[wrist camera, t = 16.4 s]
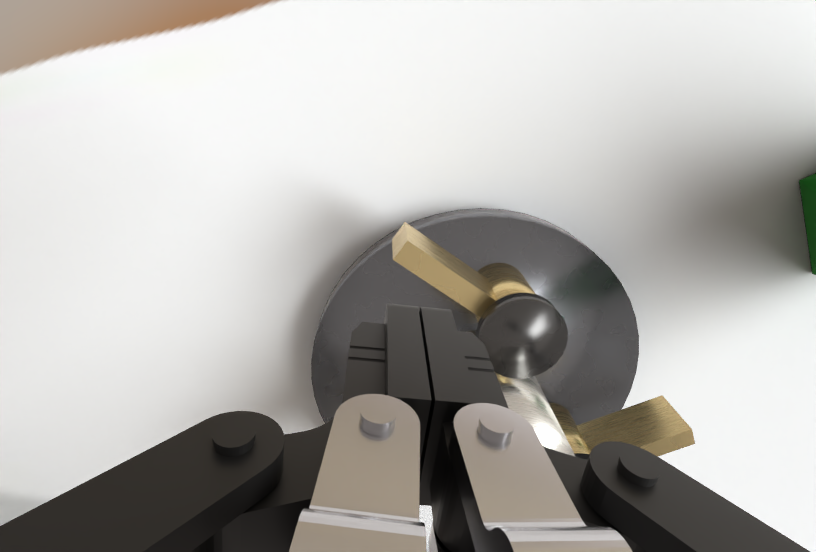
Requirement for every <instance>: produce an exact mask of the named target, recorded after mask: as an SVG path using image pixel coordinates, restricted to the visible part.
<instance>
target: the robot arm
mask: <svg viewBox="0 0 816 552" xmlns="http://www.w3.org/2000/svg"><path fill="white" fill-rule="evenodd" d="M419 505H430V506H432V514H433V522H432V527H431V531H430V536H429V551H430V552H810V551H808V550H807V549H805V548H803V547H802V546H800V545H799V544H797V543H795V542H794V541H792V540H790V539H789V538H787V537H786V536H784V535H782V534H781V533H779V532H778V531H776V530H774V529H773V528H771V527H770V526H768V525H766V524H765V523H763V522H762V521H760V520H758V519H757V518H755V517H754V516H752V515H750V514H749V513H747V512H746V511H744V510H742V509H741V508H739V507H737V506H736V505H734V504H733V503H731V502H729V501H728V500H726V499H725V498H723V497H721V496H720V495H718V494H717V493H715V492H713V491H712V490H710V489H709V488H707V487H705V486H704V485H702V484H701V483H699V482H697V481H696V480H694V479H692V478H691V477H689V476H688V475H686V474H684V473H683V472H681V471H680V470H678V469H676V468H675V467H673V466H672V465H670V464H668V463H667V462H665V461H664V460H662V459H660V458H659V457H657V456H656V455H654V454H652V453H650V452H648V451H646V450H644V449H642V448H640V447H637V446H634V445H632V444H628V443H624V442H616V441H609V442H603V443H600V444H598V445H596V446H595V447H594V448H593V449H592V451H591V453H590V456H589V458H588V460H584V459H581V458H578V457H575V456H571V455H568V454H565V453H562V452H558V451H555V450H553V449H550V448H548V447H545V446H543V445H542V443H541V441H540V440H539V438H538V436H537V434H536V432H535V430H534V429H533V427H532V426H531V424H530V423H529V422H528V421H527V420H526V419H525V418H523V417H522V416H521V415H519V414H518V413H516V412H514V411H512V410H510V409H509V408H508V405H507V402H506V400H505V397H504V395H503V392H502V389H501V387H500V384H499V381H498V379H497V376H496V373H495V372H494V368H493V365H492V363H491V361H490V357H489V355H488V352H487V349H486V347H485V344H484V343H482V342H481V341H480V340H479V339H478V338H477V337H476V336H475V335H474V334H473V333H472V332H464V331H457V328H456V324H455V321H454V317H453V314H452V311H451V310H449V309H439V308H429V307H419V309H418V306H409V305H399V304H389V303H387V305H386V311H385V319H384V324H380V323H370V322H362V323H361V324H360V325H359V326H358V327H357V328H355V329H354V330H353V331H352V333H351V341H350V348H349V355H348V362H347V370H346V377H345V384H344V391H343V399H342V404H341V405H340V406H339V408H338V409H337V411H336V413H335V416H334V417H333V418H332V419H331V420H330V421H329V422H327V423H325V424H324V425H322V426H320V427H318V428H315V429H312V430H308V431H304V432H298V433H292V434H286V435H284V433H283V431H282V429H281V427H280V426H279V425H278V423H276V422H275V421H274V420H273V419H271V418H269V417H268V416H265V415H263V414H260V413H255V412H248V411H235V412H228V413H223V414H219V415H216V416H213V417H211V418H209V419H206V420H204V421H202V422H201V423H199V424H197V425H195V426H193V427H191V428H189V429H187V430H185V431H183V432H181V433H179V434H177V435H175V436H174V437H172V438H170V439H168V440H166V441H164V442H162V443H160V444H158V445H156V446H154V447H152V448H150V449H148V450H146V451H145V452H143V453H141V454H139V455H137V456H135V457H133V458H131V459H129V460H127V461H125V462H123V463H121V464H119V465H118V466H116V467H114V468H112V469H110V470H108V471H106V472H104V473H102V474H100V475H98V476H96V477H94V478H92V479H91V480H89V481H87V482H85V483H83V484H81V485H79V486H77V487H75V488H73V489H71V490H69V491H67V492H65V493H63V494H62V495H60V496H58V497H56V498H54V499H52V500H50V501H48V502H46V503H44V504H42V505H40V506H38V507H36V508H35V509H33V510H31V511H29V512H27V513H25V514H23V515H21V516H19V517H17V518H15V519H13V520H11V521H9V522H8V523H6V524H4V525H2V526H0V552H426V531H425V525H424V523H422V522H419Z"/></svg>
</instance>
